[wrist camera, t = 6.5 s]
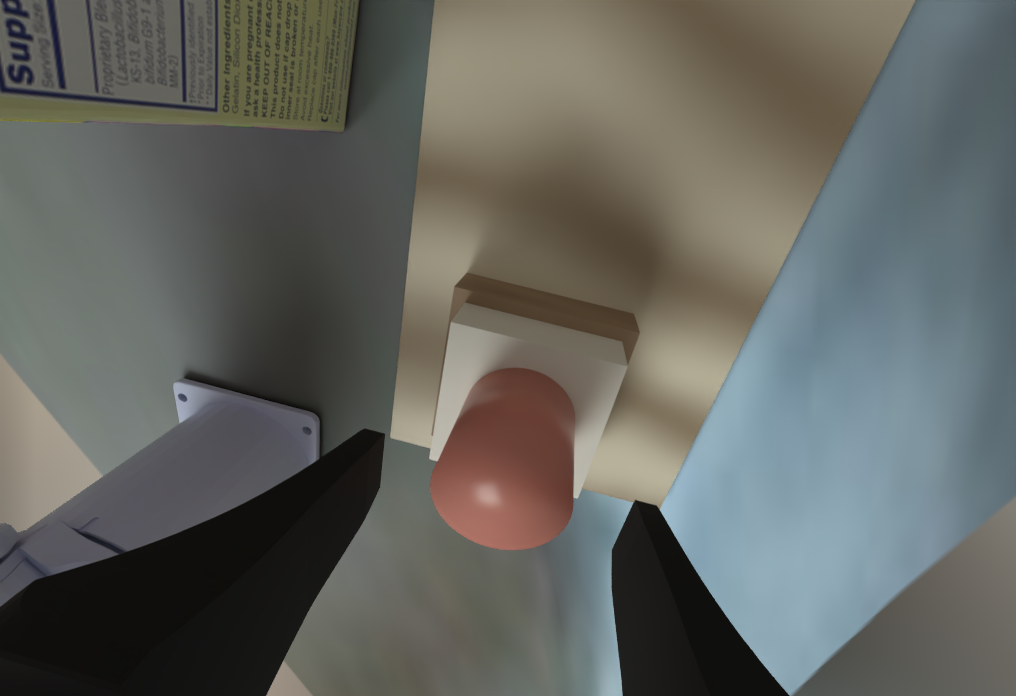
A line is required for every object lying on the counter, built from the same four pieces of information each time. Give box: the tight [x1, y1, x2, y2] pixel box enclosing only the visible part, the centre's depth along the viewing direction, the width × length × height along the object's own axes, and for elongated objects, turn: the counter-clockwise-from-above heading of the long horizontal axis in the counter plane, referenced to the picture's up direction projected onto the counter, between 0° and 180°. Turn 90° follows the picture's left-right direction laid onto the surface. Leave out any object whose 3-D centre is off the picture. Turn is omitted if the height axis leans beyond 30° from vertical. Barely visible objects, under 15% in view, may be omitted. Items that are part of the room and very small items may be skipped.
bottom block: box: [431, 273, 640, 436], centre depth 18 cm, size 7×7×2 cm
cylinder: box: [430, 368, 575, 550], centre depth 14 cm, size 4×4×4 cm
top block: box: [429, 303, 628, 499], centre depth 16 cm, size 6×6×2 cm
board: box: [390, 0, 916, 509], centre depth 17 cm, size 24×14×1 cm, turn 168°
